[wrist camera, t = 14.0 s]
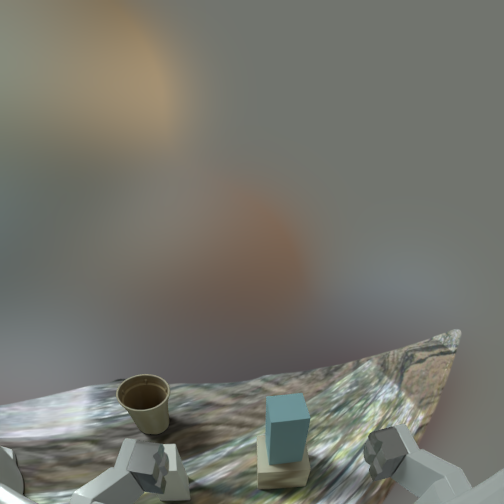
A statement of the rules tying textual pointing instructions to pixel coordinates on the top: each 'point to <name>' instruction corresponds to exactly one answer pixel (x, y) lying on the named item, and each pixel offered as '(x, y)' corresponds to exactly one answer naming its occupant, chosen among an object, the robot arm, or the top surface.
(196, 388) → the top surface
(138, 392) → the flower pot
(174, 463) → the white block
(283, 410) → the teal block
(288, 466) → the birch block
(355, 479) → the top surface
